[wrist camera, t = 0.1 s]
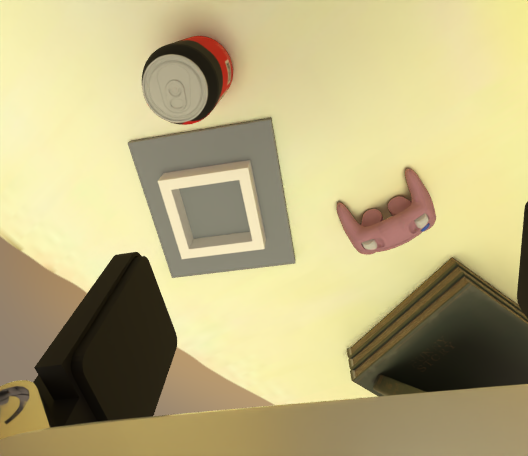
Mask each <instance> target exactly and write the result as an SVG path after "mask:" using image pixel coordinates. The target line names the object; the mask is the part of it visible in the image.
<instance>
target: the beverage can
mask: <svg viewBox="0 0 528 456" xmlns="http://www.w3.org/2000/svg"><path fill="white" fill-rule="evenodd" d="M232 77H233V67H232V62H231V59H230V57H229V55H228V53H227V51H226V50H225V49H224V47H223V46H222V45H220V44H219V43H218V42H217V41H215V40H213V39H211V38H208V37H204V36H194V37H190V38H187V39H184V40H181V41H178V42H175V43H172V44H169V45H166V46H163V47H161V48H159V49H157V50H156V51H155V52H154V53H153V54H152V55H151V56H150V57H149V58H148V60H147V62H146V64H145V66H144V69H143V74H142V89H143V94H144V98H145V100H146V102H147V104H148V106H149V107H150V108H151V110H152V111H153V112H154V113H155V114H156V115H158V116H159V117H161V118H162V119H164V120H167V121H169V122H172V123H175V124H184V125H186V124H193V123H196V122H199V121H201V120H202V119H204V118H205V117H207V116H208V115H209V114H210V113H211V111H212V110H213V109H214V107H215V106H216V105H217V103H218V102H219V101H220V99H221V98H222V97H223V95H224V94H225V93H226V92H227V90H228V89H229V87H230V84H231V82H232Z"/></svg>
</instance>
